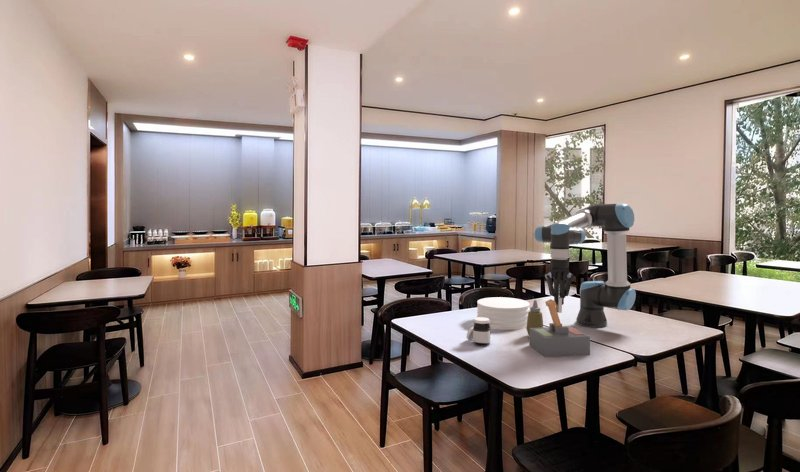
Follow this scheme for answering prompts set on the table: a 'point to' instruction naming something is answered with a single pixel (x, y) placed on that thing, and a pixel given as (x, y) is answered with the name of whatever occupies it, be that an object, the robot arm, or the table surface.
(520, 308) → the plate stack
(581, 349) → the switch block
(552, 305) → the breaker lever
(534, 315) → the squeeze bottle
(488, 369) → the table surface
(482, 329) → the spread jar
